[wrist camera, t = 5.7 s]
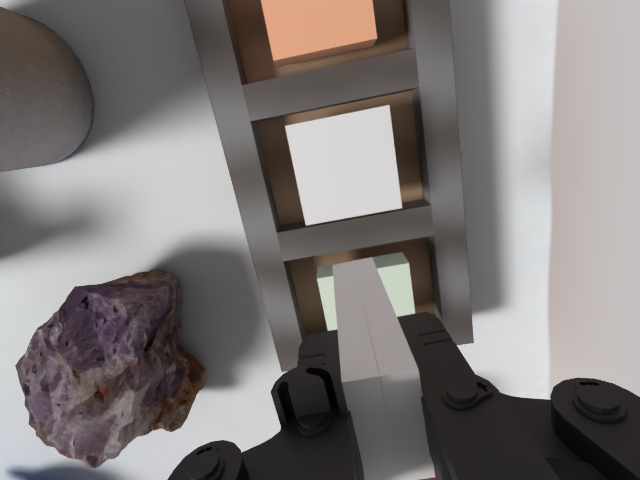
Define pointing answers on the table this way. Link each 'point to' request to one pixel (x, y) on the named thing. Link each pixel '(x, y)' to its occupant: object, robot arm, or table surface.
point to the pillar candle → (39, 95)
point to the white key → (345, 165)
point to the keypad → (326, 101)
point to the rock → (110, 368)
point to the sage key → (393, 279)
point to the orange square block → (317, 28)
